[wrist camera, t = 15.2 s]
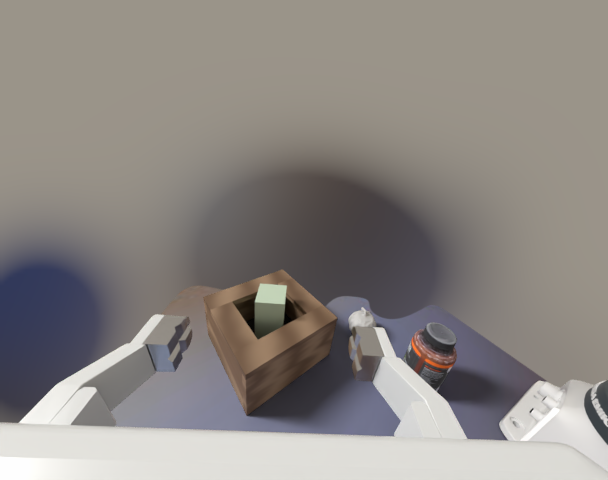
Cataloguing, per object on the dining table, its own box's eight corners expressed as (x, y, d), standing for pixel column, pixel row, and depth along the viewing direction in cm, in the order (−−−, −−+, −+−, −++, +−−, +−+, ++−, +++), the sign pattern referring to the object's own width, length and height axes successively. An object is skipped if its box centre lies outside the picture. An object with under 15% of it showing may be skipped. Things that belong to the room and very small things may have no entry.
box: (280, 301, 50) (282, 269, 46) (329, 354, 39) (337, 317, 35) (208, 334, 40) (203, 297, 36) (246, 415, 29) (245, 375, 25)
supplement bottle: (444, 397, 34) (476, 349, 29) (411, 401, 33) (438, 353, 28) (420, 361, 40) (444, 316, 35) (391, 364, 38) (411, 318, 33)
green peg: (259, 333, 41) (260, 283, 36) (282, 335, 42) (286, 285, 36) (254, 354, 37) (254, 302, 32) (280, 356, 38) (284, 304, 32)
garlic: (349, 317, 48) (354, 298, 45) (374, 326, 46) (380, 307, 44) (343, 337, 43) (348, 318, 40) (371, 348, 41) (378, 329, 39)
